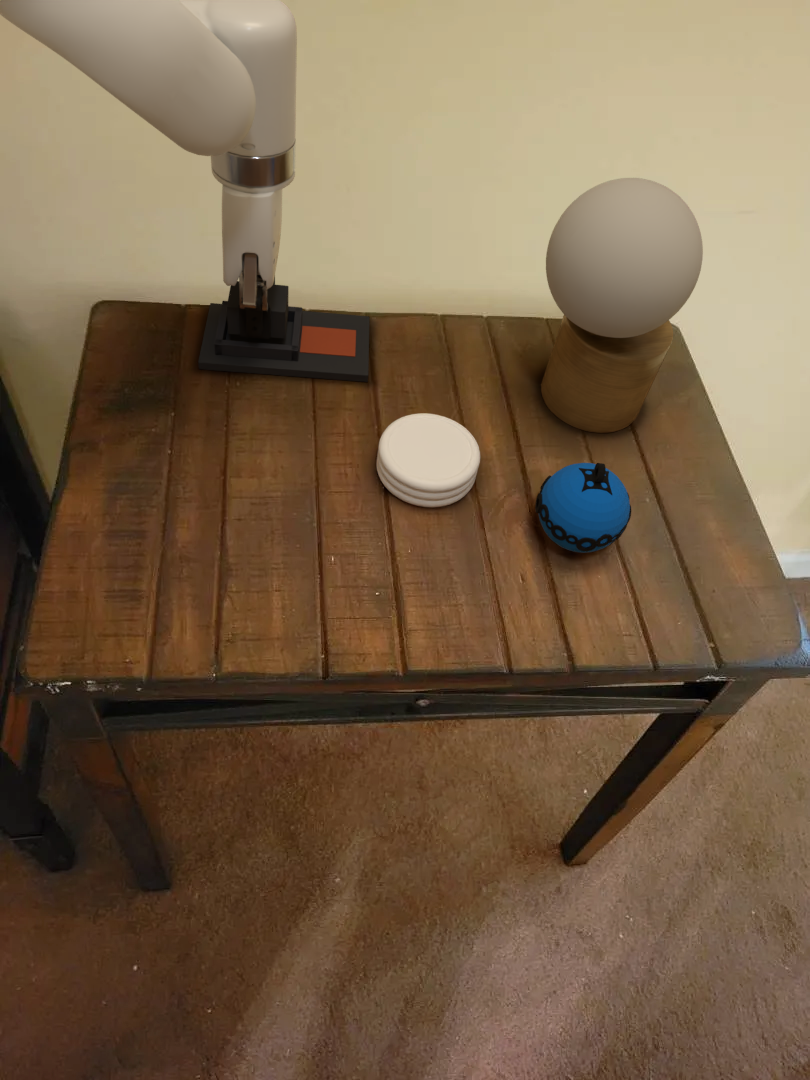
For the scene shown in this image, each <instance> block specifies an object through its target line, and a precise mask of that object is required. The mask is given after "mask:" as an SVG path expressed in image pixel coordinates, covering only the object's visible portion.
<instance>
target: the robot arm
mask: <svg viewBox="0 0 810 1080" xmlns="http://www.w3.org/2000/svg"><path fill="white" fill-rule="evenodd" d="M0 16H1V17H3V18H4V19H5V20H7V22H9V23H10V24H12V25H13V26H15V27H16V28H18V29H19V30H20V31H23V32H24V33H26V34H27V35H28V36H30V37H32V38H33V39H34V40H36V41H38V42H39V43H41V44H42V45H44V46H46V47H47V48H48V49H49V50H51V51H53V52H54V53H56V54H57V55H59V56H60V57H62V58H63V59H64V60H65V61H67V62H68V63H69V64H71V65H72V66H74V67H75V68H76V69H77V70H79V71H80V72H82V73H83V74H84V75H86V76H87V77H88V78H89V79H90V80H92V81H93V82H94V83H96V84H97V85H99V86H100V87H101V88H102V89H104V90H105V91H106V92H108V93H109V95H111V96H113V97H114V98H115V99H116V100H118V101H119V102H120V103H122V104H123V105H124V106H126V107H127V108H128V109H129V110H131V111H132V112H134V114H136V115H137V116H139V117H140V118H142V119H143V120H144V121H146V122H147V123H148V124H150V125H151V126H152V127H154V128H155V129H156V130H157V131H159V132H160V133H161V134H163V135H164V136H165V137H166V138H168V139H169V140H170V141H172V142H173V143H174V144H175V145H177V146H178V147H179V148H181V149H182V150H184V151H186V152H188V153H191V154H194V155H197V156H204V157H210V163H211V164H210V166H211V175H212V176H213V177H214V179H215V180H216V181H217V183H218V182H219V184H221V185H222V186H221V187H222V188H221V243H222V244H221V245H222V247H221V248H222V281H223V283H224V284H225V285H226V286H227V287H230V286H235V285H236V283H237V281H239V298H240V302H239V305H238V306H239V325H240V335H241V336H242V337H251V338H263V339H269V338H270V337H271V305H268V289H269V288H270V287H271V286H272V285H273V284H274V285H276V270H277V264H278V259H279V251H280V243H281V233H282V224H283V223H282V221H283V220H282V219H283V189H285V188H286V187H288V186H289V185H291V183H293V181H294V180H295V177H296V146H297V145H296V143H297V142H296V126H297V125H296V122H297V117H296V116H297V115H296V114H297V61H298V60H297V59H298V58H297V57H298V56H297V55H298V52H297V51H298V46H297V45H298V32H297V22H296V18H295V16H294V14H293V12H292V10H291V9H290V7H289V6H288V5H286V4H285V3H284V2H283V1H282V0H0ZM257 287H258V288H262V297H261V296H260V295H257Z"/></svg>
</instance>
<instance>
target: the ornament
mask: <svg viewBox="0 0 810 1080" xmlns="http://www.w3.org/2000/svg"><path fill="white" fill-rule="evenodd" d="M534 511H535V513H536V514H537V515H538V518H539V523H540V525H541V526H542V529H543V531H544V532H545V534H546V535H547V537H548V538H549V539H550V540H551V541H552V542H554V543H555V544H556V545H557V546H559V547H561V548H563V549H565V550H567V551H570V552H574V553H583V554H584V553H586V554H587V553H593V552H597V551H600V550H603V549H605V548H606V547H608V546H610V545H611V544H613V543H614V542H615V541H617V540H619V539H620V537H622V535H623V533H625V531H626V529H627V527H628V524H629V522H630V520H631V517H632V505H631V503H630V494H629V493H628V490H627V488H626V486H625V485H624V483H623V482H622V481H621V479H620V478H619V477H618V475H617V474H615V473H614V472H613V471H611V470H610V469H609V468H607V467H606V464H605V463H602V462H596V463H591V462H578V463H573V464H569V465H566V466H563V467H562V468H561V469H559V470H557V471H556V472H555V473H554V474H552V475H548V476H547V477H546V478H545V479H544V480H543V482H542V484H541V486H540V490H539V493H537V495H536V498H535V505H534Z"/></svg>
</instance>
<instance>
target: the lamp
mask: <svg viewBox="0 0 810 1080" xmlns="http://www.w3.org/2000/svg"><path fill="white" fill-rule="evenodd" d="M554 225H555V226H554V228H553V230H552V231H551V234H550V237H549V240H548V244H547V249H546V255H545V256H546V257H545V275H546V281H547V285H548V289H549V292H550V294H551V296H552V299H553V301H554V302H555V304H556V306H557V307H558V309H559V310H560V312H561V313H562V314H563V316H562V319H561V323H560V325H559V329H558V332H557V334H556V337H555V341H554V344H553V347H552V349H551V353H550V355H549V359H548V362H547V364H546V369H545V371H544V374H543V377H542V380H541V384H540V391H541V396H542V399H543V402H544V404H545V406H547V408H548V410H549V411H550V412H551V413H552V414H553V415H554V416H555V417H557V418H558V419H559V420H560V421H562V422H563V423H565V424H567V425H569V426H570V427H573V428H575V429H578V430H581V431H586V432H590V433H597V434H609V433H614V432H619V431H621V430H623V429H625V428H627V427H629V426H630V425H631V424H632V423H633V422H634V421H636V419H637V418H638V416H639V413H640V411H641V409H642V407H643V405H644V403H645V401H646V400H647V396H648V395H649V393H650V390H651V388H652V386H653V384H654V381H655V379H656V377H657V376H658V373H659V372H660V369H661V367H662V365H663V364H664V363H663V362H664V360H665V358H666V356H667V354H668V352H669V350H670V349H671V346H672V343H673V341H674V328H673V326H672V323H671V321H670V320H671V319H672V318H673V317H674V316H675V315H676V314H678V313H679V312H680V310H681V309H682V308H683V306H684V305H685V304H686V303H687V302H688V300H689V298H690V297H691V295H692V293H693V292H694V290H695V288H696V285H697V283H698V282H699V281H698V280H699V277H700V274H701V270H702V265H703V257H704V256H703V255H704V246H703V245H704V244H703V238H702V233H701V228H700V226H699V223H698V221H697V218H696V217H695V213H694V212H693V211H692V209H691V208H690V206H689V204H687V202H685V200H684V199H683V198H682V197H681V196H680V195H679V194H677V193H676V192H675V191H674V190H672V189H671V188H669V187H668V186H666V185H664V184H662V183H660V182H657V181H654V180H651V179H648V178H647V179H646V178H640V177H620V178H615V179H611V180H607V181H605V182H602V183H599V184H597V185H595V186H593V187H590V188H589V189H588V190H586V191H585V192H583V193H581V194H580V195H579V196H578V197H577V198H576V199H574V200H573V201H572V202H571V203H570V204H569V205H568V206H567V207H566V209H564V211H563V213H562V214H561V216H560V217H559V218H558V220H557V222H556V223H555V224H554Z"/></svg>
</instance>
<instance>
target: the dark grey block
mask: <svg viewBox="0 0 810 1080" xmlns="http://www.w3.org/2000/svg"><path fill="white" fill-rule="evenodd" d="M289 289H290V287H289V285H285V284H284V285H283V284H275V285H274V284H273V285H272V286H271V287H270V288H269V289H268V305H271V337H272V338H283V339H285V337H286V328H287V319H288V306H289ZM228 292H229V293H228V297H227V301H228V302H227V321H228V333H229V334H237V335H240V325H239V306H238V305H239V302H240V298H239V280H238V281H237V283H236V285H235V286H231V285H230V286H229V291H228ZM257 295H260V296H261V297H262V288H258V287H257Z"/></svg>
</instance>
